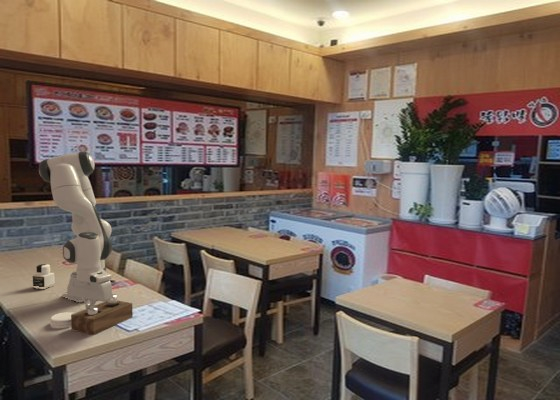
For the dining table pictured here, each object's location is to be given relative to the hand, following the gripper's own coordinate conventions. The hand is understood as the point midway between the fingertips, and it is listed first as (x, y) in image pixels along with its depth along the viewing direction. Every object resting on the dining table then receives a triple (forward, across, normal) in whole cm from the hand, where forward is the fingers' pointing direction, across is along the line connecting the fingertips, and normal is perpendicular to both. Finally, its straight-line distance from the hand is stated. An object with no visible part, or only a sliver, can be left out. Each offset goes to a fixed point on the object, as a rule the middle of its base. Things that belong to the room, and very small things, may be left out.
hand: (90, 308), depth 162 cm
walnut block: (+8, 0, +6) cm, 10 cm away
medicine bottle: (+8, -65, +26) cm, 71 cm away
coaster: (+8, -13, -2) cm, 16 cm away
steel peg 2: (+3, 0, +11) cm, 11 cm away
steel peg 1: (+5, 0, +1) cm, 5 cm away
